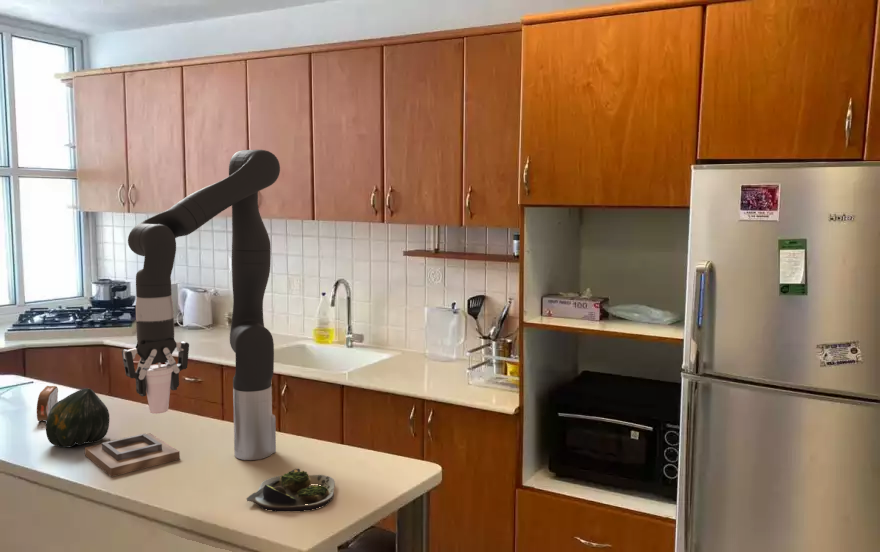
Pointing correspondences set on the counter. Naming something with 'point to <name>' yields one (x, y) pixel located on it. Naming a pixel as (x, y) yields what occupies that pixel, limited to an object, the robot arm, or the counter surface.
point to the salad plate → (294, 492)
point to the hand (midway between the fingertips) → (158, 392)
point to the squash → (77, 419)
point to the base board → (131, 454)
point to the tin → (46, 402)
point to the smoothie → (158, 387)
